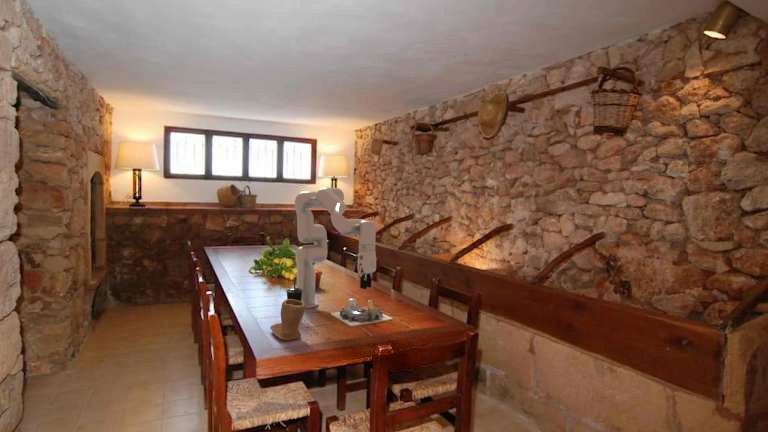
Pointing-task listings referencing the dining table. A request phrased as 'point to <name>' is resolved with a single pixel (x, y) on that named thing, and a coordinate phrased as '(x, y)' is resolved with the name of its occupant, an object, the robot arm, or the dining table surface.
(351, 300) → the roller
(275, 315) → the dining table surface
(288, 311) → the brown boot
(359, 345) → the dining table surface
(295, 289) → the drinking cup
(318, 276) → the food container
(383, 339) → the dining table surface
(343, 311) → the sprocket
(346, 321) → the board
